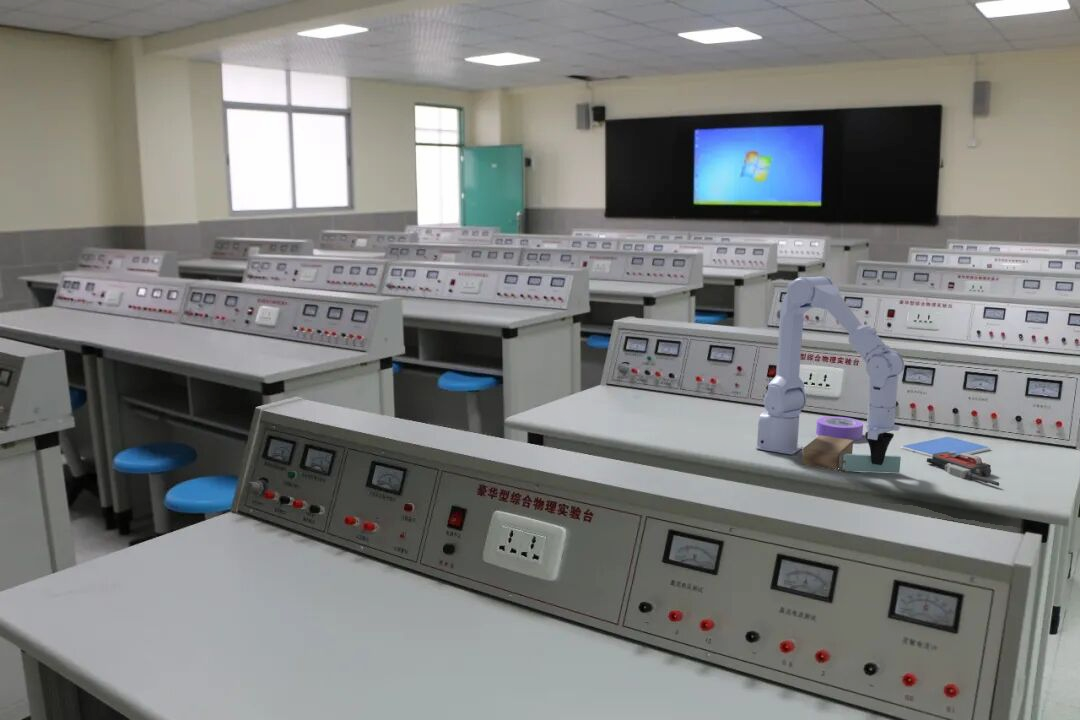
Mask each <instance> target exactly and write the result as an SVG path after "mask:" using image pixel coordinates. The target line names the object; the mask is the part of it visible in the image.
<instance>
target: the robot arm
mask: <svg viewBox="0 0 1080 720" xmlns="http://www.w3.org/2000/svg"><path fill="white" fill-rule="evenodd" d="M813 307H815V308H818V309H825V310H826V311H827V312H828V313H829V314H830V315H832V317H833V318H834V319H835V320H836V321H837V322H838V323H839V324H840V326H841V327H843V329H844V330H845V331H846V332H847V333H848V343H849V345H851V346H852V348H853V349H854V350H855V352H857V354H858V355H859V356H860V357H861V359H862V360H863V362H864V363H865V370H866V373H867V375H868V377H869V395H868V406H867V417H866V418H867V419H866V423H865V427H866V429H867V431H866V432H865V434H864V435H865V439H866V441H867V443H868V446H869V450H870V455H871V462H872V464H876V465H882V464H883V461H884V458H885V455H887V450H888V447H889V445H890V443H891V441H892V440H893V438H894V436H895V434H894V433H893V432H891V431H899V430H900V426H899V425H895V419H896V418H895V417H896V406H897V393H898V382H899V375H900V374H902V373H903V371H904V368H905V362H904V359H903V357H902V356H901V354H900V353H899V352H898V351H895V350H891V348H890V346H889V345H886V344H885V342H884V341H883V340H882V339H881V338H880V336H878V331H877V329H876V328H875V327H871V326H870V325H865V324H864V325H863V324H862V322H860V320H859V319H858V317H857V316H856V315H855V313H854V312H853V310H852V309H851V308H850V306H849V305H848V304H847V302H846V301H845V299H844V298H843V296H842V295H841V293H840V289H839V287H838V285H836V284H835V283H834V282H833V281H832V279H831V278H830V277H829V276H827V275H819V276H811V277H804V276H801V277H797V278H795V279H793V280H792V281H791V282H789V284H787V286H786V293H785V296H784V298H783V300H782V301H781V303H780V311H779V312H780V313H779V326H778V327H779V329H778V338H777V339H778V342H777V355H776V370H775V371H776V372H775V376H774V377H773V379H771V380H770V382H769V383H768V385H767V391H766V393H765V395H764V398H763V406H764V408H765V410H766V411H763V412H761V414H760V416H759V418H758V425H757V442H756V443H757V445H756V447H755V449H756V450H762V451H767V452H772V453H773V452H775V453H779V454H784V455H785V454H786V455H791V456H792V455H795V454H796V453H797V452H799V451H800V450H801V449H803V448H804V447H803V445H799V444H798V441H799V428H800V427H799V425H800V415H801V411H802V410H803V409H804V408H805V407H806V404H807V395H806V392H805V383H804V381H803V380H802V379H801V377H800V371H801V369H800V367H801V354H802V343H803V342H802V341H803V340H802V339H803V330H804V329H803V327H804V326H803V325H804V316H805V314H806V313H807V312H809V310H811V309H813Z"/></svg>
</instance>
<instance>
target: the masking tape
mask: <svg viewBox="0 0 1080 720" xmlns="http://www.w3.org/2000/svg"><path fill="white" fill-rule="evenodd" d="M863 429H864V423H863V422H862V421H861V420H859V419H855V418H851V417H844V416H822V417H819V418H817V419H816V427H815V431H816V432H815V433H816V435H817V436H820V435H822V436H829V437H836V438H842V439H849V440H853V441H857V439H858V440H861V439H862V438H863V434H864V433H863V431H864V430H863ZM860 438H861V439H860Z"/></svg>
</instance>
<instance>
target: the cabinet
mask: <svg viewBox="0 0 1080 720" xmlns="http://www.w3.org/2000/svg"><path fill="white" fill-rule="evenodd" d="M853 447H854V440H849V439H842V438H836V437H829V436H822V435H820V436H819V435H817V437H816V438H814V439H813V440H811V441H810V442H809V443H808V444H807V445H805V446H804V447H803V448H802V449H803V450H802V462H801V463H802V465H805V466H810V467H815V468H822V467H823V469H828V468H829V469H828V470H834V469H836V470H837V471H836V470H835V471H836V472H839V471H842V472H843V469H842V465H843V463H844V464H845V461H843V455H845V454H853V450H854V449H853ZM838 468H839V469H838Z"/></svg>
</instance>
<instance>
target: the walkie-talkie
mask: <svg viewBox="0 0 1080 720" xmlns="http://www.w3.org/2000/svg"><path fill="white" fill-rule="evenodd" d="M955 453H956V452H955V451H954V452H941V453H935V454H933V456H932V457H928V458H926V462H927V463H929V464H931V466H932V467H935V466H936V468H939V469H941V470H945V471H946V472H947V473H948V474H949V475H950V476H954V477H957V478H960V479H962V480H965V479H970V480H972V479H973V480H976V481H978V482H981V483H984V484H992V485H994V486H997V487H999V486H1000V483H999V481H995V480H993V479H989V478H986V477H989V476H990V475H991V473H992V468H991V466H992V465H991V464H990V463H989V464H988V463H986V462H983V461H982V458H981V457H979V456H977V455H974V454H967V453H963V454H959V455H957V454H955ZM984 476H985V477H984Z"/></svg>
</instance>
